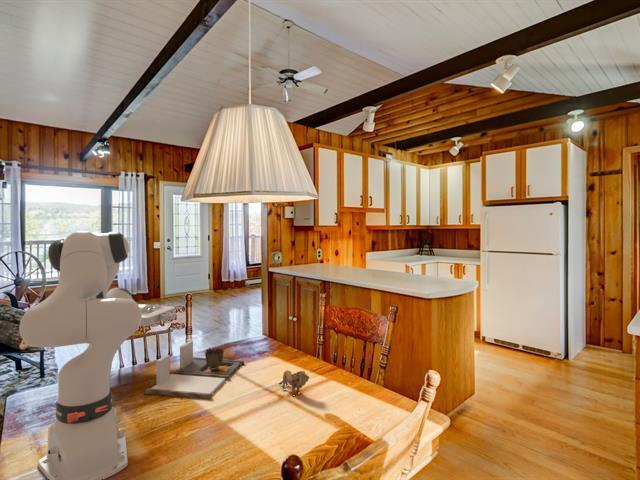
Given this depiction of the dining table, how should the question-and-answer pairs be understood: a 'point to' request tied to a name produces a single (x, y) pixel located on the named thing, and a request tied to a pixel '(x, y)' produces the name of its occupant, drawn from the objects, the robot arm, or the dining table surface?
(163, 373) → the white platform with upright
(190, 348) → the grey frame with upright
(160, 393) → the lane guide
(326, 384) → the dining table surface
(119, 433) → the robot arm
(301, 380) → the lion figurine
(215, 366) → the cup
